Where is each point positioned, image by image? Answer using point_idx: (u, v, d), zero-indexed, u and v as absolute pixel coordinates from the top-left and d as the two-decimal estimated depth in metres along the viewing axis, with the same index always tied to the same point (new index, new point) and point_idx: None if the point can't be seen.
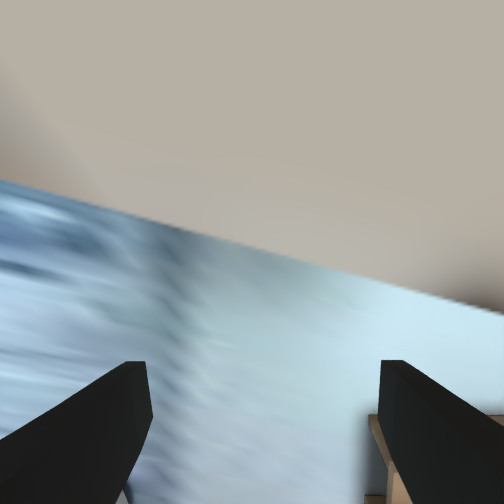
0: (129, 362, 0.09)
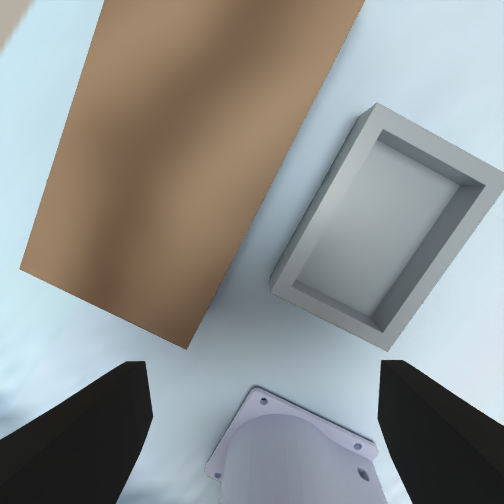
0: (129, 362, 0.09)
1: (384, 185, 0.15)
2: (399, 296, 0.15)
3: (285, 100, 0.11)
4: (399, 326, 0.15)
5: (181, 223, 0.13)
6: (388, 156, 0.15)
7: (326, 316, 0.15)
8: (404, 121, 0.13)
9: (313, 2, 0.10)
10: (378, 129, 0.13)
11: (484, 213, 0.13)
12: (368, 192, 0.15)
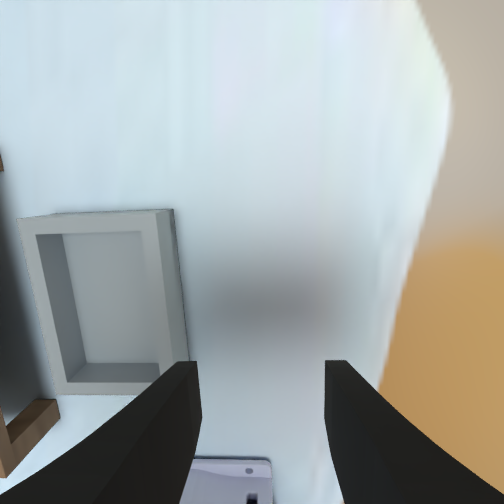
0: (181, 362, 0.09)
1: (100, 258, 0.16)
2: None
3: None
4: None
5: None
6: (86, 235, 0.16)
7: (109, 391, 0.16)
8: (44, 220, 0.14)
9: None
10: (33, 236, 0.14)
11: (157, 251, 0.14)
12: (93, 270, 0.16)
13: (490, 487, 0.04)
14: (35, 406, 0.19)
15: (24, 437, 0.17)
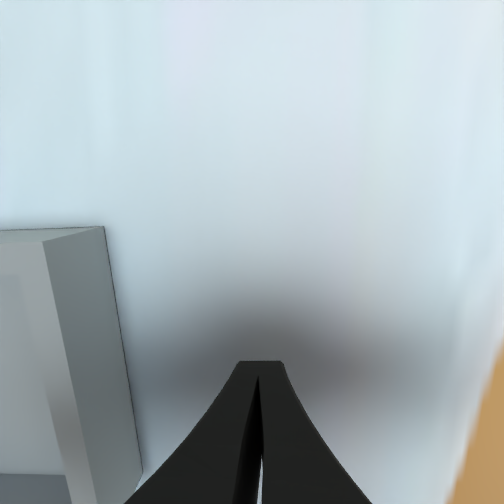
0: (244, 361, 0.08)
1: None
2: None
3: None
4: None
5: None
6: None
7: None
8: None
9: None
10: None
11: (53, 314, 0.07)
12: None
13: (350, 484, 0.04)
14: None
15: None
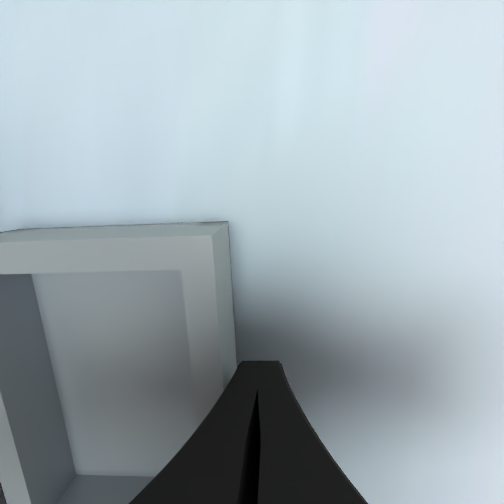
0: (247, 361, 0.08)
1: (98, 308, 0.09)
2: None
3: None
4: None
5: None
6: None
7: None
8: None
9: None
10: None
11: (213, 311, 0.07)
12: (86, 328, 0.09)
13: (346, 484, 0.04)
14: None
15: None
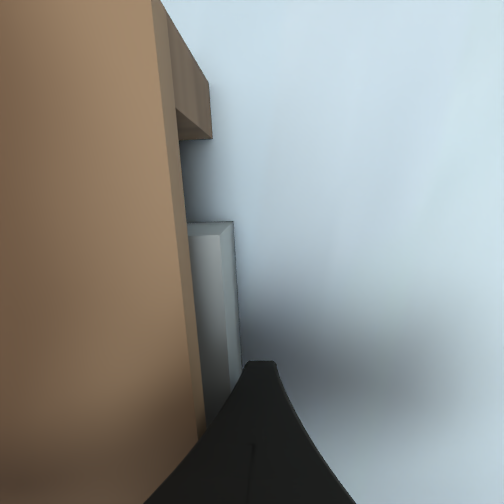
0: (253, 361, 0.08)
1: None
2: None
3: (138, 360, 0.06)
4: None
5: None
6: None
7: None
8: None
9: (74, 185, 0.05)
10: None
11: (220, 311, 0.07)
12: None
13: (335, 483, 0.04)
14: None
15: None
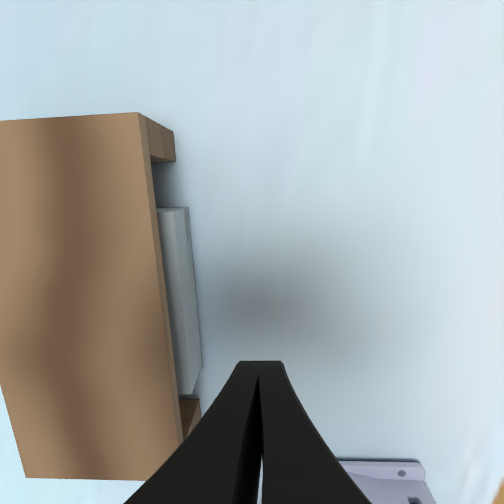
0: (244, 361, 0.08)
1: None
2: None
3: (133, 264, 0.13)
4: (184, 369, 0.15)
5: (117, 390, 0.14)
6: None
7: None
8: None
9: (107, 187, 0.12)
10: None
11: (174, 250, 0.14)
12: None
13: (350, 484, 0.04)
14: (182, 406, 0.18)
15: None
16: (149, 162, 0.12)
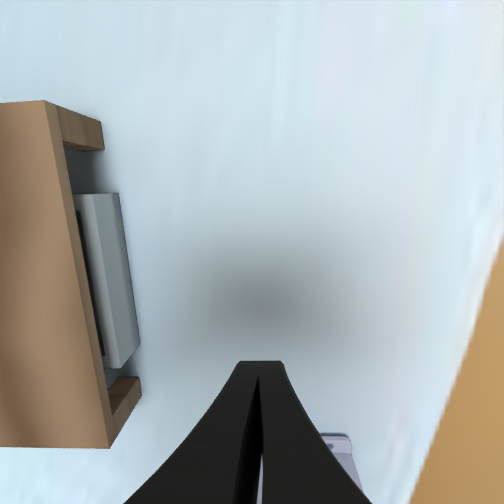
0: (244, 361, 0.08)
1: None
2: None
3: (50, 242, 0.14)
4: (112, 344, 0.17)
5: (43, 361, 0.15)
6: None
7: None
8: None
9: (21, 169, 0.13)
10: None
11: (96, 230, 0.15)
12: None
13: (350, 484, 0.04)
14: (121, 382, 0.19)
15: (120, 410, 0.17)
16: (61, 147, 0.13)
